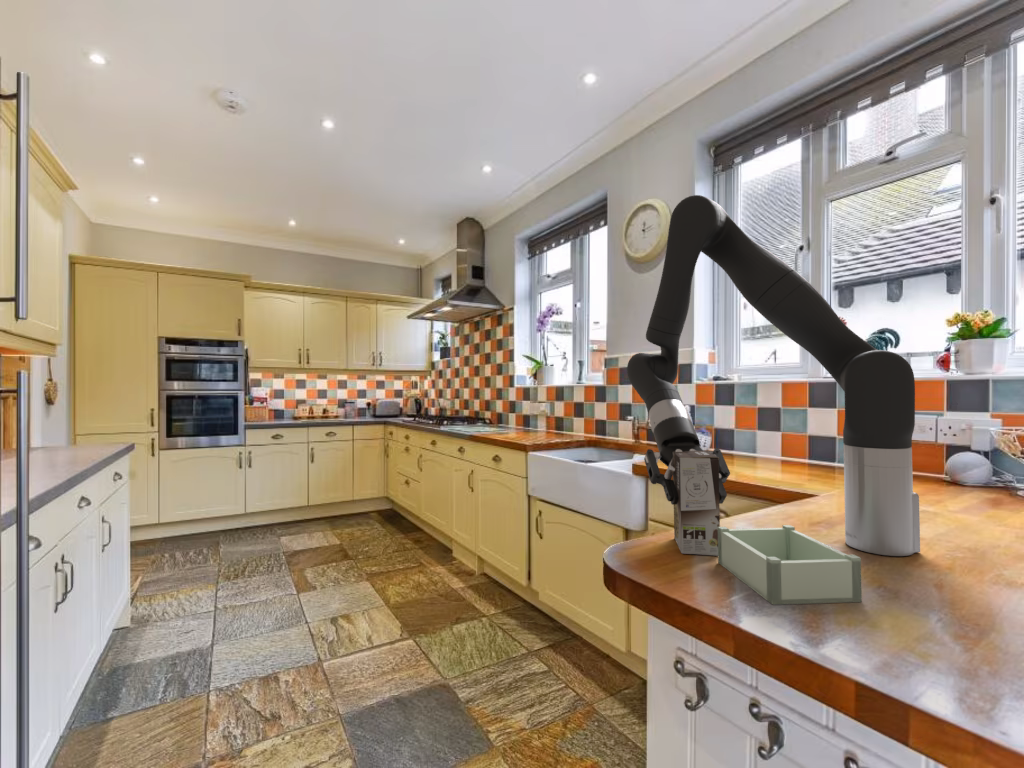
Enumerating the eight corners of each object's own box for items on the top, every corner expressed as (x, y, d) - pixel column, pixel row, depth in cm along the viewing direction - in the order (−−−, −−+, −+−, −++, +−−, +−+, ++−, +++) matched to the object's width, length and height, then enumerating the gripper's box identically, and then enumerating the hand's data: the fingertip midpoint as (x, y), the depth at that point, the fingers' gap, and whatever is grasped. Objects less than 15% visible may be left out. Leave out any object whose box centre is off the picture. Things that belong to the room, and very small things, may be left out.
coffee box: (722, 556, 77) (720, 457, 78) (680, 554, 79) (678, 456, 79) (710, 539, 86) (708, 449, 87) (673, 537, 88) (671, 449, 88)
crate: (790, 560, 75) (789, 525, 75) (861, 601, 61) (860, 557, 61) (718, 562, 75) (717, 526, 75) (772, 604, 60) (771, 560, 60)
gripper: (639, 415, 90) (662, 490, 78) (714, 414, 91) (748, 488, 79) (632, 440, 95) (652, 514, 84) (702, 439, 96) (732, 512, 84)
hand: (698, 501), depth 81 cm, fingers closed on coffee box, 7 cm apart
